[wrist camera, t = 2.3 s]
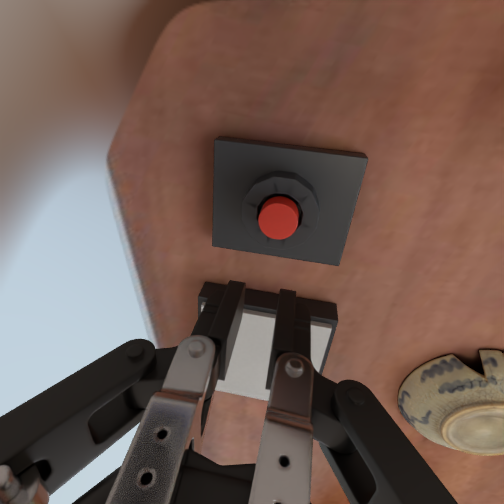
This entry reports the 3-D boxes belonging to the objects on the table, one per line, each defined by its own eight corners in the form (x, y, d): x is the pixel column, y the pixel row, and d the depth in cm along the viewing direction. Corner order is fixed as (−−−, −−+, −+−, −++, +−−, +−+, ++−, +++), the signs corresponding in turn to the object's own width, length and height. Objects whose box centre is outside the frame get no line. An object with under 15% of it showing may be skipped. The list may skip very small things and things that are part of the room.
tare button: (259, 227, 24) (256, 236, 22) (263, 193, 22) (260, 200, 21) (295, 232, 24) (294, 242, 22) (301, 198, 22) (300, 206, 21)
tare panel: (216, 239, 28) (206, 255, 25) (218, 136, 23) (207, 143, 21) (337, 258, 27) (340, 277, 24) (365, 153, 22) (372, 163, 20)
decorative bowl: (435, 450, 38) (583, 419, 31) (446, 484, 35) (613, 458, 28) (370, 378, 34) (525, 325, 27) (376, 409, 31) (552, 358, 24)
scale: (204, 367, 37) (196, 389, 35) (205, 281, 31) (195, 300, 28) (311, 388, 36) (311, 412, 33) (336, 303, 29) (339, 325, 27)
